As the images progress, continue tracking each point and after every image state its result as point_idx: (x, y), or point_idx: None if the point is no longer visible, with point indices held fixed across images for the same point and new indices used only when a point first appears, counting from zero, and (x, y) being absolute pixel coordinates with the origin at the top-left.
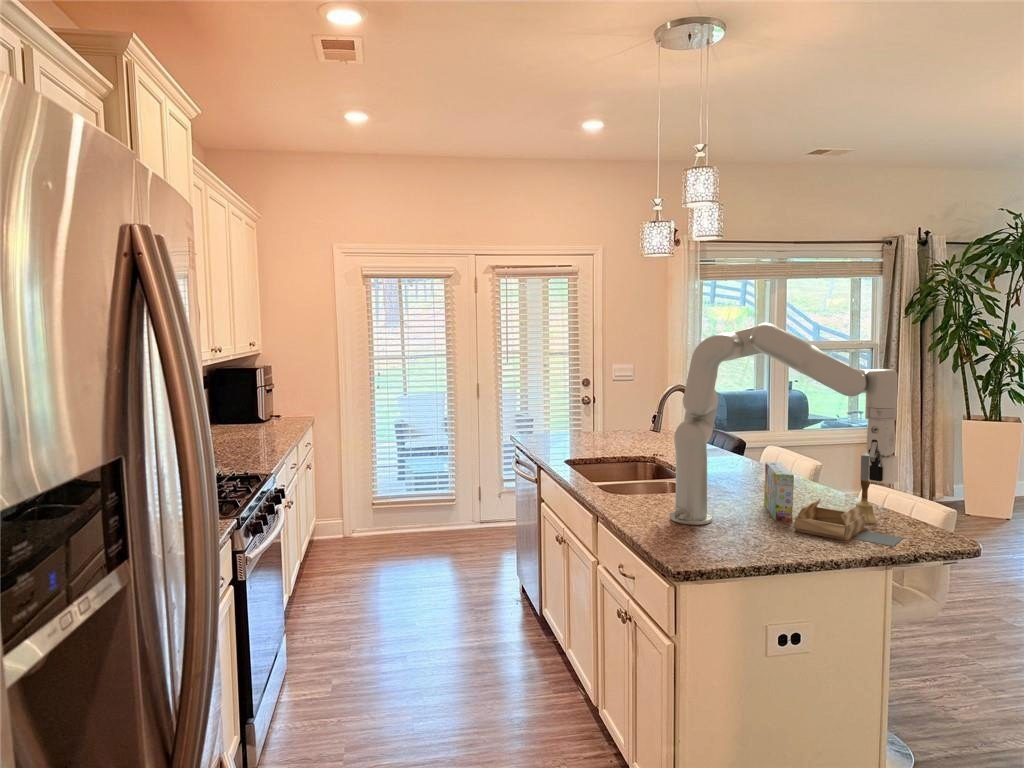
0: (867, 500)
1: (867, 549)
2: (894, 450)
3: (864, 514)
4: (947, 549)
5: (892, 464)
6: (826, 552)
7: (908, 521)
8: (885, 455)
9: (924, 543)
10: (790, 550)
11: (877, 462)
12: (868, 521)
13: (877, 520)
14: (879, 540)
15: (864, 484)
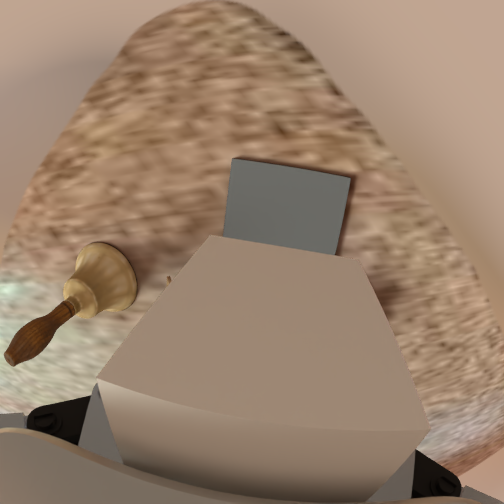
0: (69, 297)
1: (394, 241)
2: (29, 454)
3: (111, 286)
4: (266, 42)
5: (406, 371)
6: (450, 319)
7: (47, 181)
8: (474, 502)
9: (237, 101)
10: (453, 372)
11: (431, 468)
12: (124, 268)
13: (99, 248)
14: (309, 220)
15: (48, 335)
